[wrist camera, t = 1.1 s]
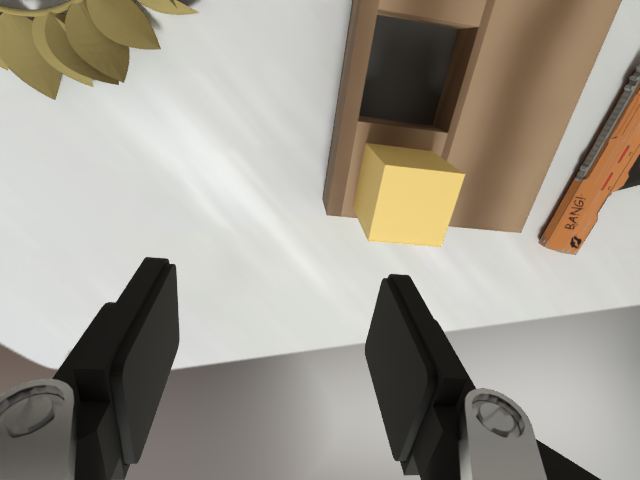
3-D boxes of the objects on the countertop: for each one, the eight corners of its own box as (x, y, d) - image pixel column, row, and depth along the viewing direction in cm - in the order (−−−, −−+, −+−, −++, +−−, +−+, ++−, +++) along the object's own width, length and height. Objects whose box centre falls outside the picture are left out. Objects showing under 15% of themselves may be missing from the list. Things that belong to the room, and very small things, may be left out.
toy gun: (637, 264, 33) (548, 251, 30) (615, 251, 34) (529, 238, 32) (767, 83, 26) (666, 47, 23) (731, 80, 28) (635, 46, 25)
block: (431, 151, 24) (465, 174, 20) (414, 213, 26) (441, 247, 22) (365, 142, 23) (385, 164, 19) (353, 207, 25) (368, 241, 21)
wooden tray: (649, -161, 20) (753, -221, 16) (500, 216, 30) (537, 245, 26) (388, -235, 18) (423, -328, 13) (322, 199, 28) (330, 227, 24)
